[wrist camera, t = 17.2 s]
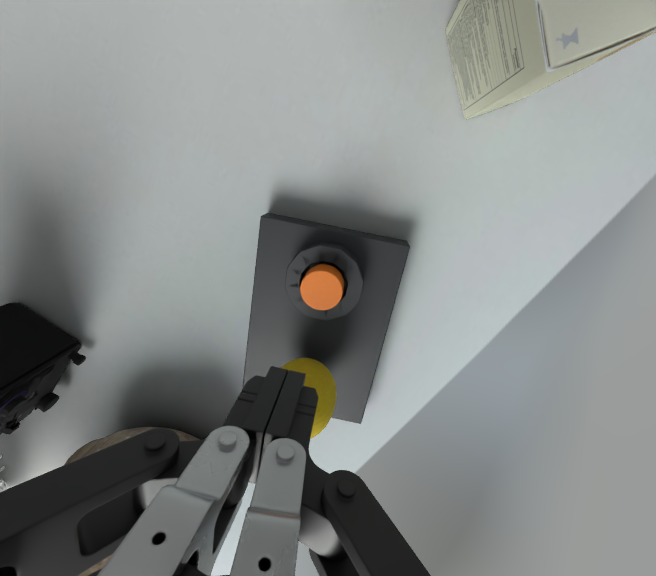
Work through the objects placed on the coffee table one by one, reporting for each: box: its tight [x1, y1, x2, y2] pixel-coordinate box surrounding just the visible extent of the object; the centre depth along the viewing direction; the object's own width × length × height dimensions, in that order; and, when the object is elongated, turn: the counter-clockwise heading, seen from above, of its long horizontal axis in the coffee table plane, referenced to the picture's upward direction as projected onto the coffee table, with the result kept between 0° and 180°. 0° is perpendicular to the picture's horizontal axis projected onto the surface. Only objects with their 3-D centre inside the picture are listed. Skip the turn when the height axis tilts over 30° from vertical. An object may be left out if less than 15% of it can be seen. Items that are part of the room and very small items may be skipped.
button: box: [300, 264, 344, 310], centre depth 26 cm, size 3×3×2 cm
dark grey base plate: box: [243, 213, 410, 424], centre depth 29 cm, size 12×18×4 cm, turn 170°
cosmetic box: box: [446, 0, 656, 119], centre depth 17 cm, size 6×4×12 cm
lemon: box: [281, 358, 337, 438], centre depth 27 cm, size 6×6×8 cm
